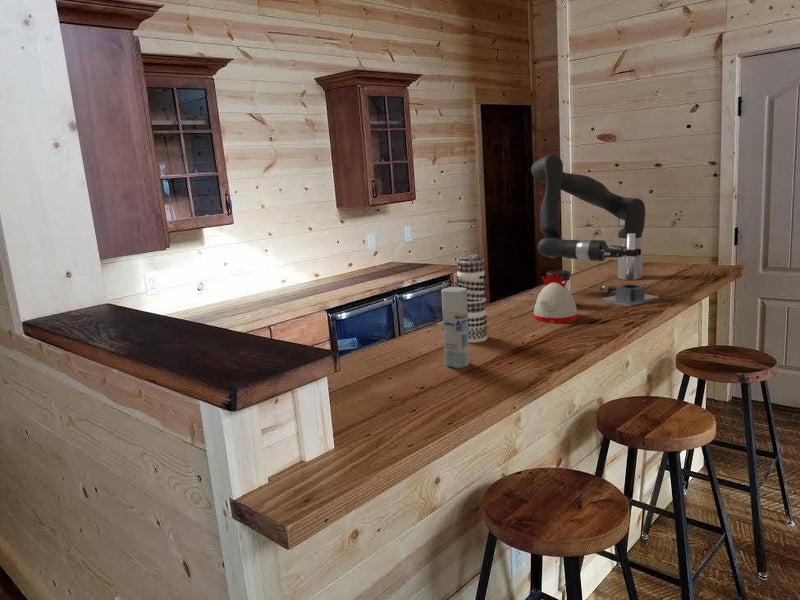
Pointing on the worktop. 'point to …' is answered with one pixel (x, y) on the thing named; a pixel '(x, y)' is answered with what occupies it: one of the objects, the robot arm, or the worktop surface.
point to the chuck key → (607, 288)
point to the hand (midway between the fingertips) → (638, 252)
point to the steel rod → (630, 259)
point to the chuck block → (630, 296)
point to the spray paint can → (455, 326)
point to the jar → (561, 273)
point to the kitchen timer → (555, 302)
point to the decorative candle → (474, 294)
